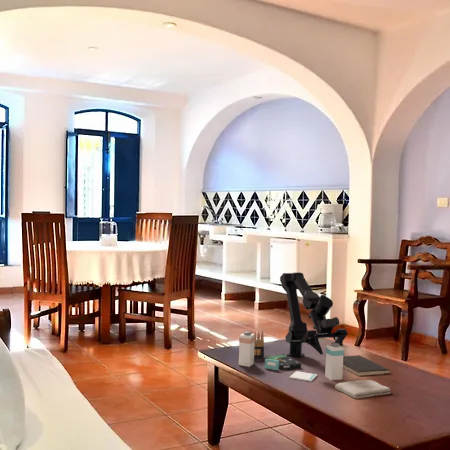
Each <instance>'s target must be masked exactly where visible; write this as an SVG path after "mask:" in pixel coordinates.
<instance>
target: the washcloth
mask: <svg viewBox="0 0 450 450" xmlns="http://www.w3.org/2000/svg"><path fill="white" fill-rule="evenodd" d="M334 388H335V390H337V391H338V392H341V393H344V394H345V395H346V396H348V397H351V398H352V399H355V398H356V399H361V398H362V399H364V398H369V397H375V395H376V396H382V395H383V396H384V395H390V394H391V392H390V391H391V388H390V387H388V386H385V385H382V384H381V383H378V382H377V381H375V380H371V379H368V380H367V379H366V380H365V379H363V380H362V379H357V380H349V381H344V382H338V383H337V384H335V386H334Z"/></svg>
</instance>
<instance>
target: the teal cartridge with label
mask: <svg viewBox="0 0 450 450" xmlns="http://www.w3.org/2000/svg"><path fill="white" fill-rule="evenodd" d="M264 369H266V370H267V369H268V370H272V371H280V370H279V361H277V360H271V359H265V361H264Z"/></svg>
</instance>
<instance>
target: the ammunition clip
mask: <svg viewBox="0 0 450 450" xmlns="http://www.w3.org/2000/svg"><path fill="white" fill-rule="evenodd" d="M244 332H245V331H243V333H244ZM246 332H249V331H246ZM250 332H251V334H255V343H254V359H258V358H259V359H261V358H262V359H263V358H265V347H264V346H265V340H264V331H261V333H260V330H258V332H256V331H254V332H253V331H252V330H251V331H250ZM243 333H242V334H243Z"/></svg>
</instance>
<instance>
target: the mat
mask: <svg viewBox="0 0 450 450" xmlns="http://www.w3.org/2000/svg"><path fill="white" fill-rule="evenodd" d="M317 377H318V374H317V373H316V374H315V373H311V372H310V373H309V372H304V371H300V370H299V371H298V370H296V371H295V372H293V374H291V375H290V376H289V379H291V380H296V381H297V380H298V381H304V382H311V383H312V382H313V381H314V380H315V379H316V378H317Z"/></svg>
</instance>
